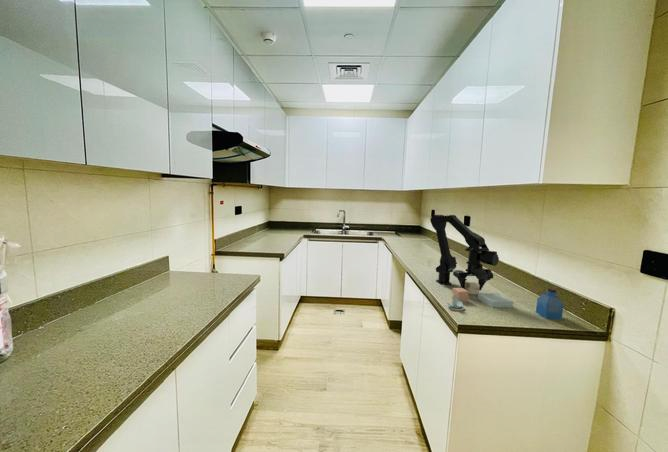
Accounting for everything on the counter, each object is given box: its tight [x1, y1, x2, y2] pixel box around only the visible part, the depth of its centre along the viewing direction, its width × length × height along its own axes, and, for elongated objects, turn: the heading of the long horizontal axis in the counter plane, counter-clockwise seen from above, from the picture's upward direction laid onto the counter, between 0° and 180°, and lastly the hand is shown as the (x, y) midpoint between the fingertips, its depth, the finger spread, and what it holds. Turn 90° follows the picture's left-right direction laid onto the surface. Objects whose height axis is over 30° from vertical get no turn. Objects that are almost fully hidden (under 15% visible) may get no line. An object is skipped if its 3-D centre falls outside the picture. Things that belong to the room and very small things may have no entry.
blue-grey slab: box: [477, 292, 514, 308], centre depth 125 cm, size 10×10×3 cm
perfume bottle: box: [535, 286, 565, 321], centre depth 112 cm, size 6×6×12 cm
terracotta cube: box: [451, 287, 469, 303], centre depth 127 cm, size 5×5×5 cm
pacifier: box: [446, 294, 465, 312], centre depth 117 cm, size 7×6×6 cm
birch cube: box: [465, 281, 480, 295], centre depth 137 cm, size 5×5×5 cm
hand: (471, 290), depth 137 cm, fingers open, 9 cm apart
